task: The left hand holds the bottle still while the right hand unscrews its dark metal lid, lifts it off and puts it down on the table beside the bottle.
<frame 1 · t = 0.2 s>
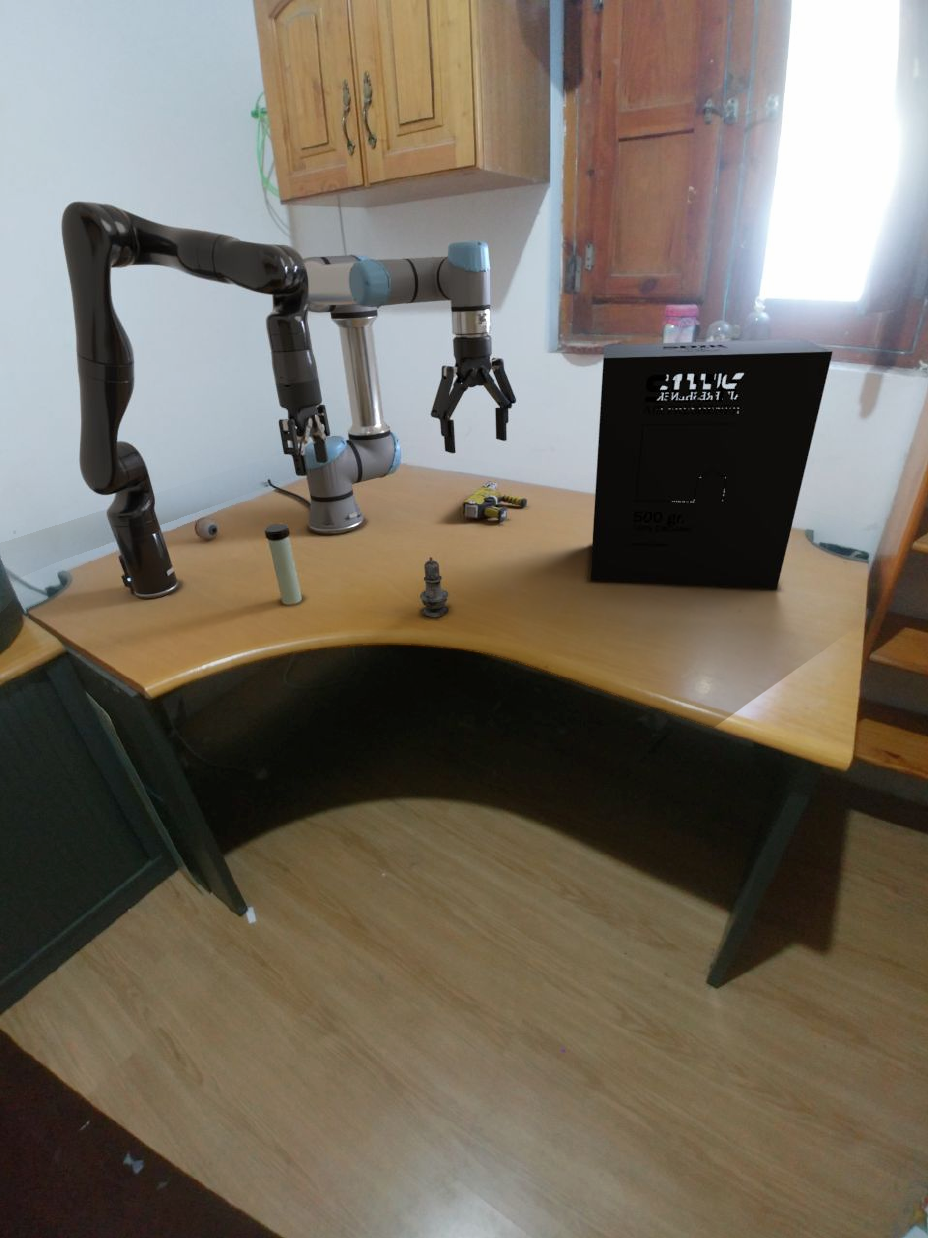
left hand: (312, 468, 114), 29 cm above the table, tool pointing down, fingers open, 8 cm apart
right hand: (476, 445, 127), 28 cm above the table, tool pointing down, fingers open, 13 cm apart
bottle: (292, 600, 131), on the table
lid: (276, 529, 123), point 16 cm above the table, screwed on, not yet turned
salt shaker: (435, 611, 124), on the table
cardboard box: (676, 565, 136), on the table
eyeball: (210, 539, 165), on the table
toy gun: (499, 508, 174), on the table
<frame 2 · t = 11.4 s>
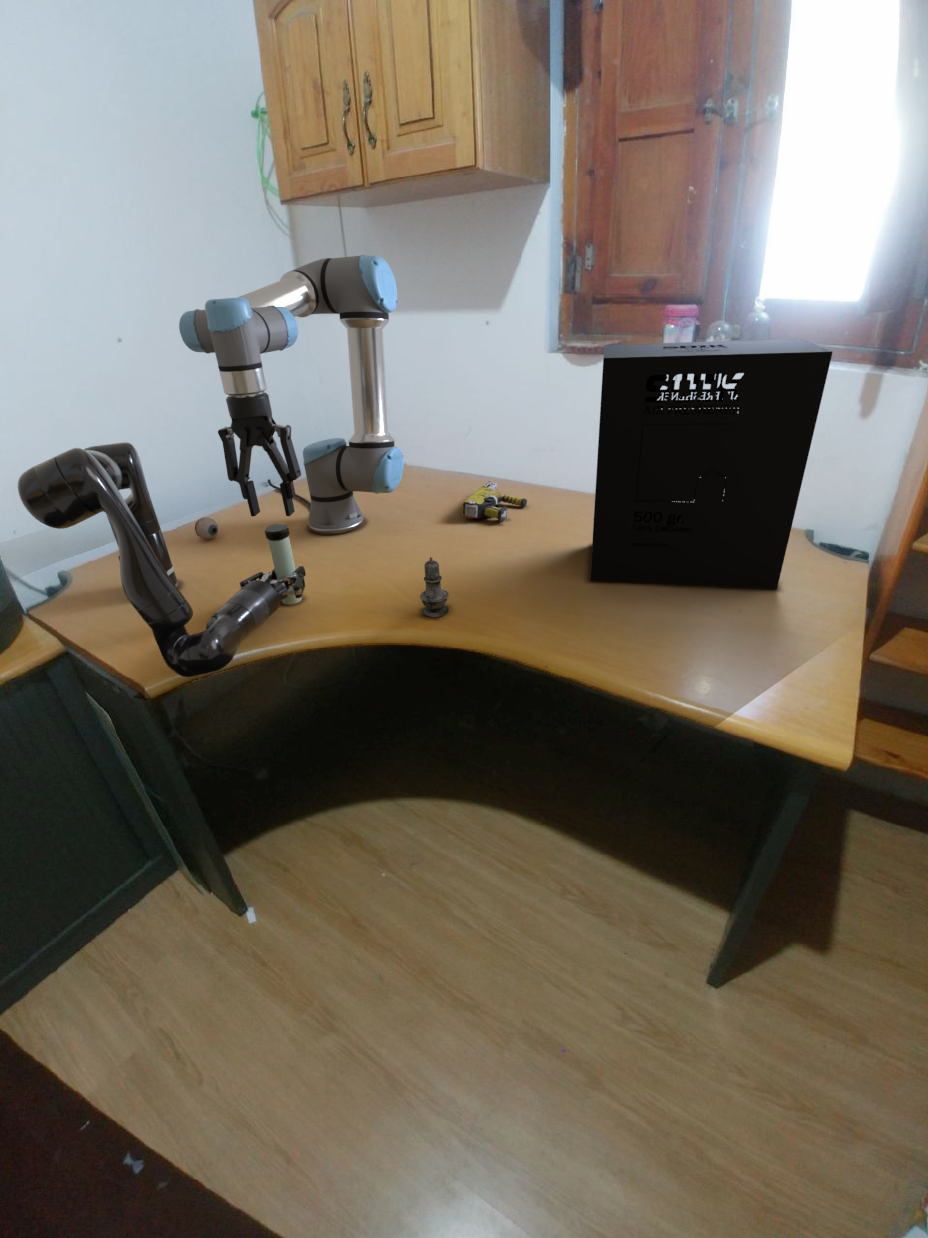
left hand: (292, 569, 130), 6 cm above the table, tool horizontal, fingers closed on bottle, 4 cm apart
right hand: (273, 513, 121), 20 cm above the table, tool pointing down, fingers open, 7 cm apart
bottle: (292, 600, 131), on the table, touching left hand
everything else where it was.
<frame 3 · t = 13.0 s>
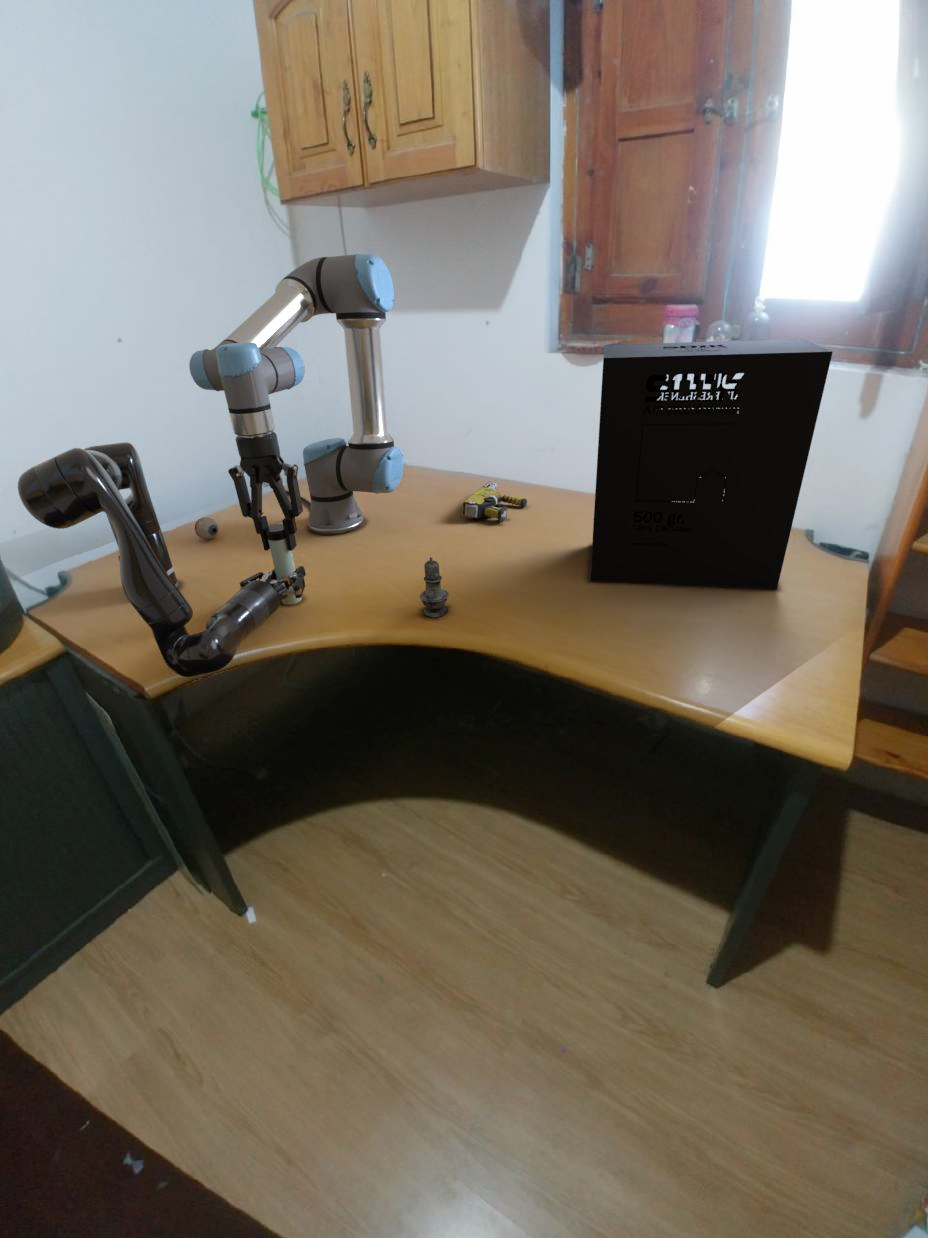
left hand: (292, 569, 130), 6 cm above the table, tool horizontal, fingers closed on bottle, 4 cm apart
right hand: (280, 547, 125), 12 cm above the table, tool pointing down, fingers closed on lid, 4 cm apart
bottle: (292, 600, 131), on the table, touching left hand
lid: (276, 529, 123), point 16 cm above the table, screwed on, not yet turned, touching right hand
everything else where it was.
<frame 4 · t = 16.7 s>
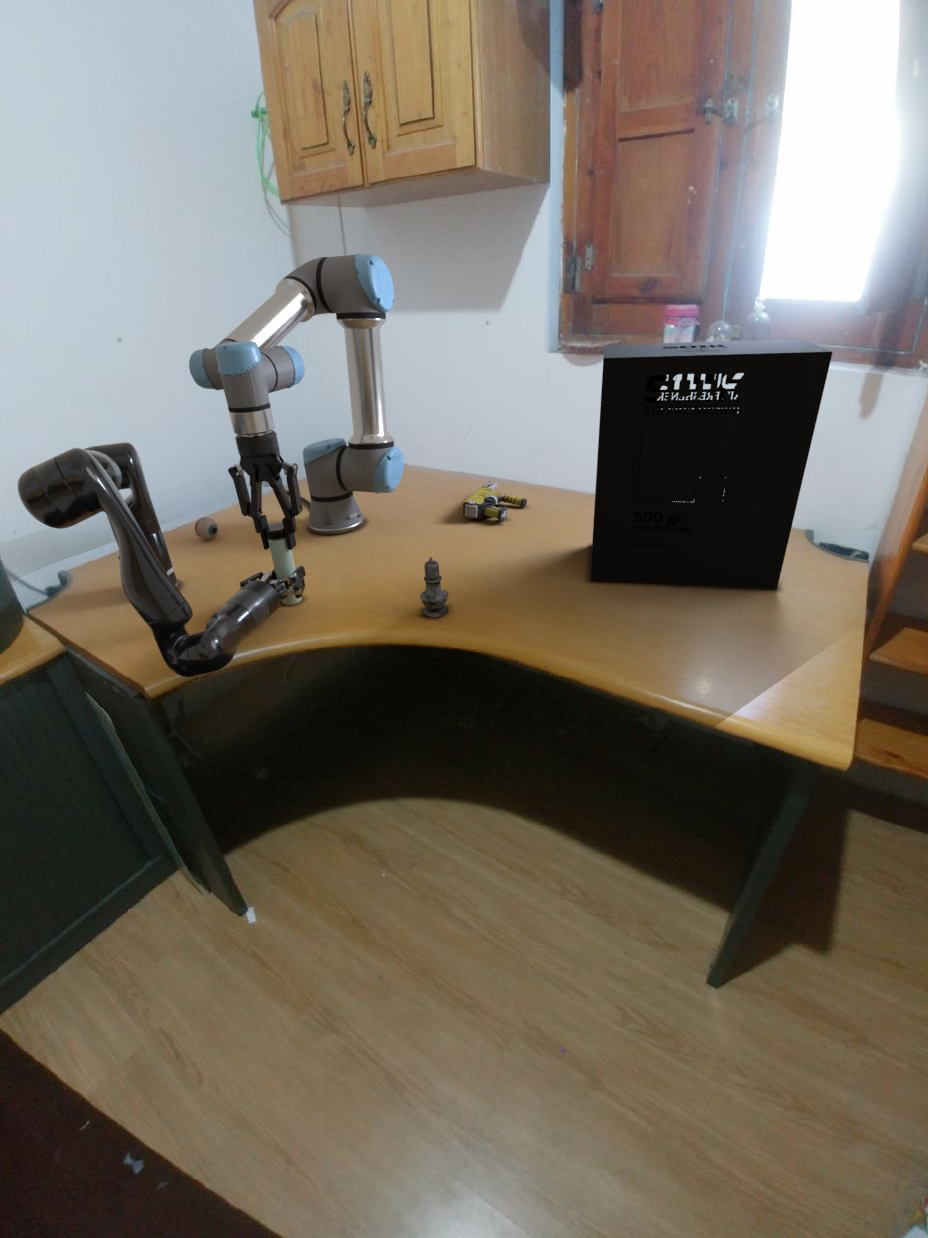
left hand: (292, 569, 130), 6 cm above the table, tool horizontal, fingers closed on bottle, 4 cm apart
right hand: (280, 546, 125), 13 cm above the table, tool pointing down, fingers closed on lid, 4 cm apart
bottle: (292, 600, 131), on the table, touching left hand
lid: (276, 528, 123), point 17 cm above the table, turned 123° so far, risen 0.2 cm, still on its thread, touching right hand
everything else where it was.
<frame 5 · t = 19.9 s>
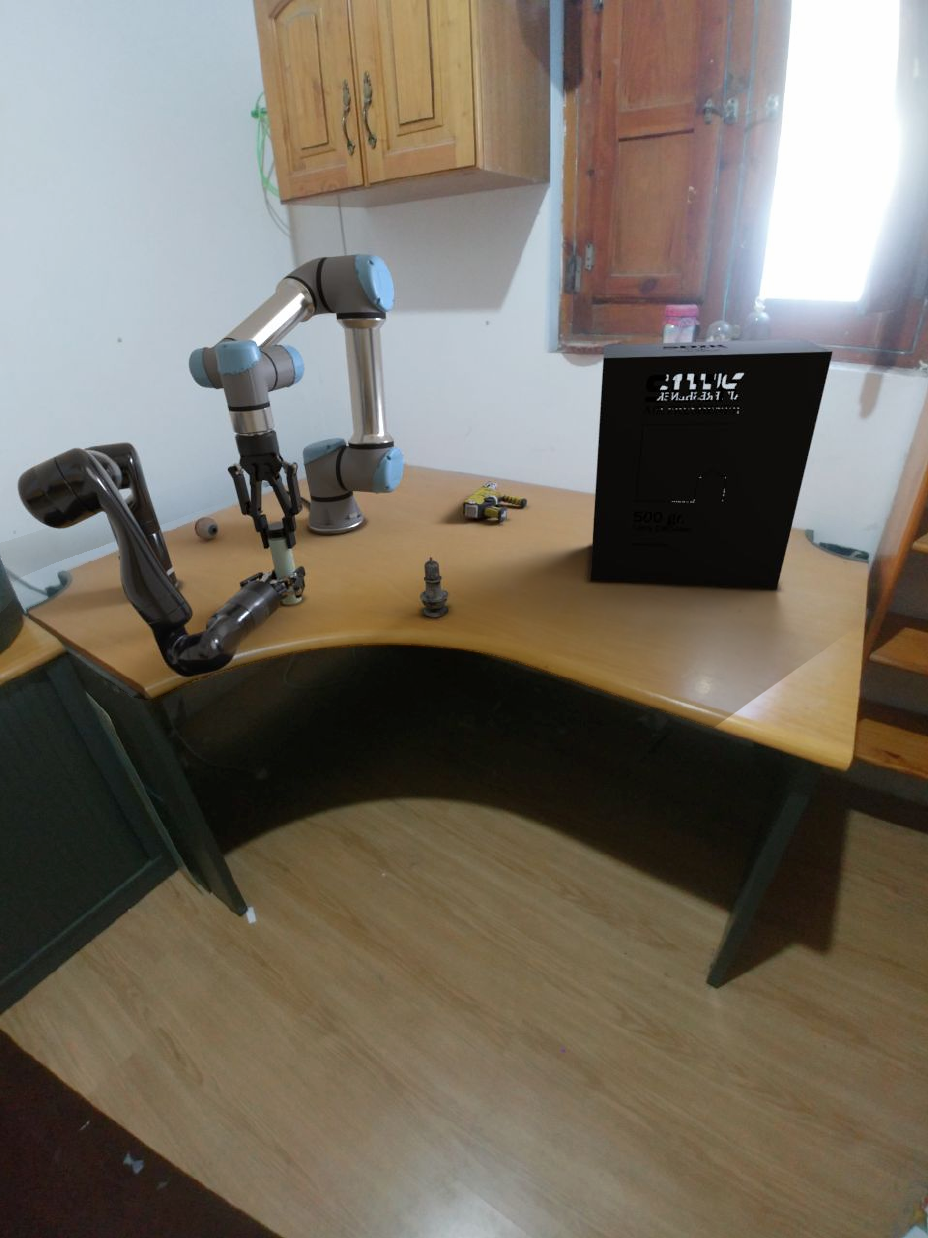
left hand: (292, 569, 130), 6 cm above the table, tool horizontal, fingers closed on bottle, 4 cm apart
right hand: (280, 545, 125), 13 cm above the table, tool pointing down, fingers closed on lid, 4 cm apart
bottle: (292, 600, 131), on the table, touching left hand
lid: (276, 527, 123), point 17 cm above the table, turned 246° so far, risen 0.4 cm, still on its thread, touching right hand
everything else where it was.
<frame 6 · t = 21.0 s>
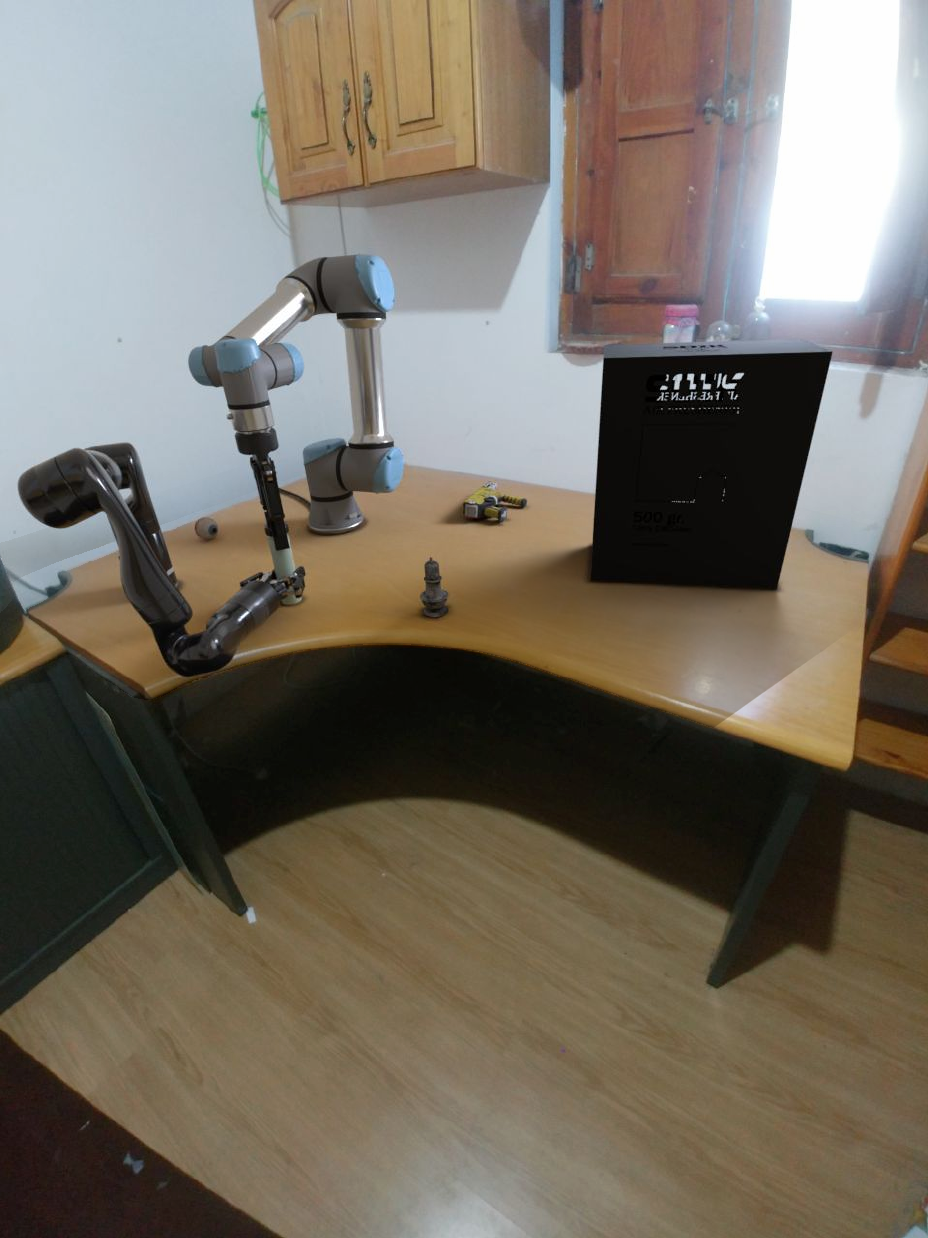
left hand: (292, 569, 130), 6 cm above the table, tool horizontal, fingers closed on bottle, 4 cm apart
right hand: (280, 544, 125), 13 cm above the table, tool pointing down, fingers closed on lid, 4 cm apart
bottle: (292, 600, 131), on the table, touching left hand
lid: (276, 525, 123), point 17 cm above the table, off its thread, touching right hand
everything else where it was.
when the right hand's fingers open (0 cm above the table, at t = 26.1 s): lid drops 2 cm, point 1 cm above the table.
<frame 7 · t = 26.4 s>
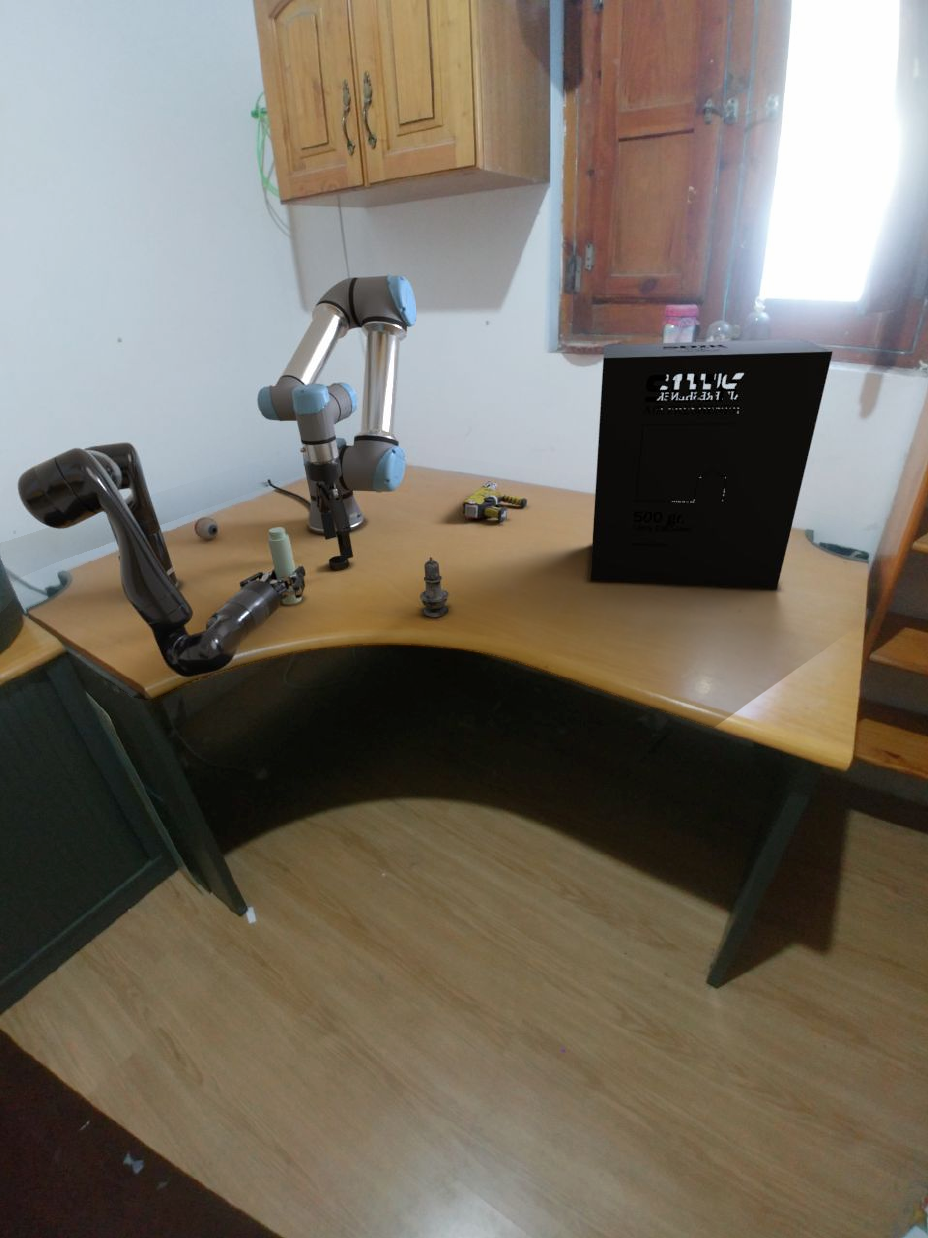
left hand: (292, 569, 130), 6 cm above the table, tool horizontal, fingers closed on bottle, 4 cm apart
right hand: (338, 547, 144), 4 cm above the table, tool pointing down, fingers open, 13 cm apart
bottle: (291, 600, 131), on the table, touching left hand
lid: (338, 560, 145), point 1 cm above the table, off its thread
everything else where it was.
when the left hand's fingers open (6 cm above the table, at t = 26.7 s): bottle stays where it is, on the table.
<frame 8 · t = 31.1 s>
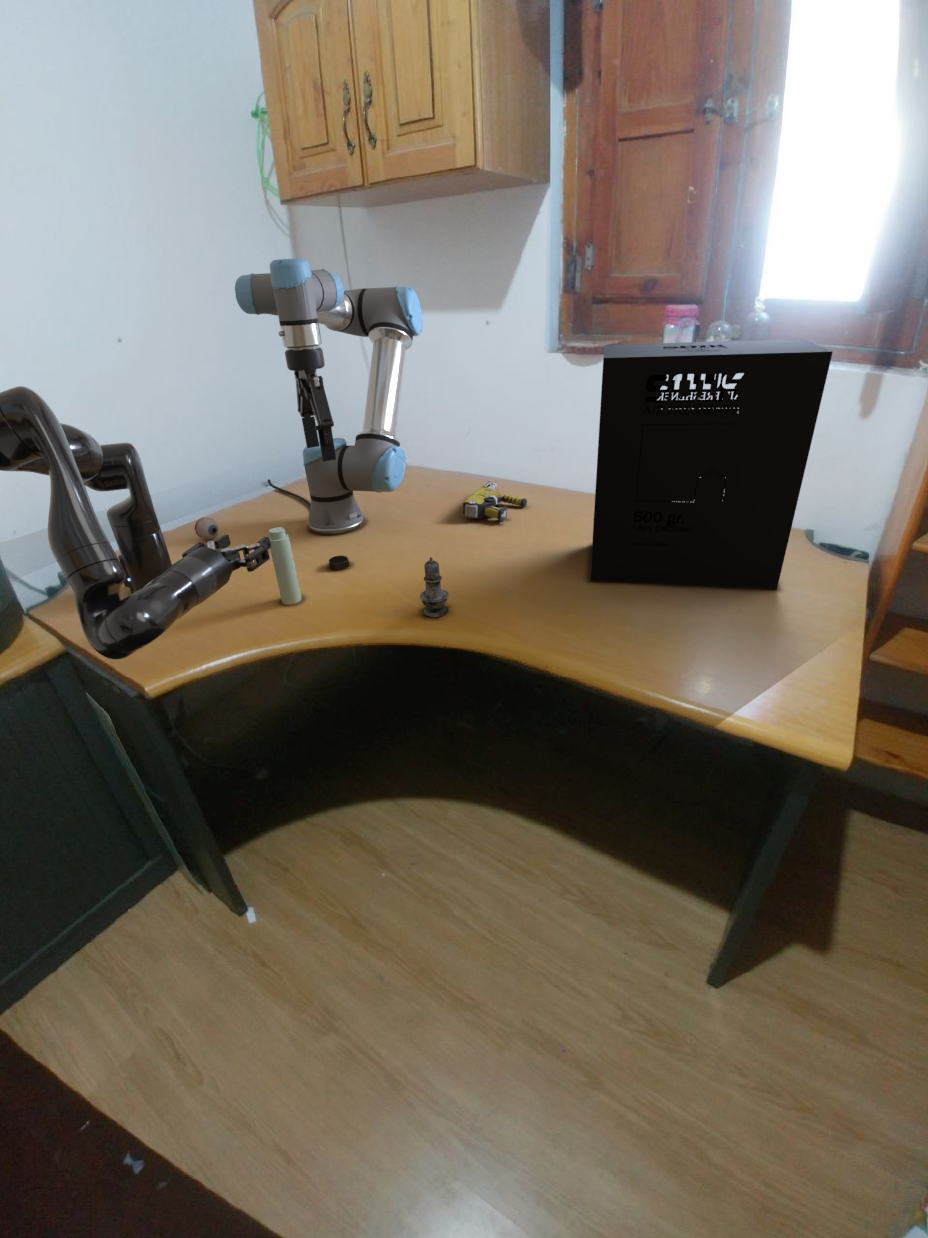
left hand: (248, 540, 114), 18 cm above the table, tool horizontal, fingers open, 8 cm apart
right hand: (321, 453, 132), 27 cm above the table, tool pointing down, fingers open, 13 cm apart
bottle: (291, 600, 131), on the table
everything else where it was.
at the end: lid came off its thread; lid point 1.5 cm above the table; the left hand is holding nothing; the right hand is holding nothing; bottle tilted 0°; bottle moved 0.0 cm from its start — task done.
